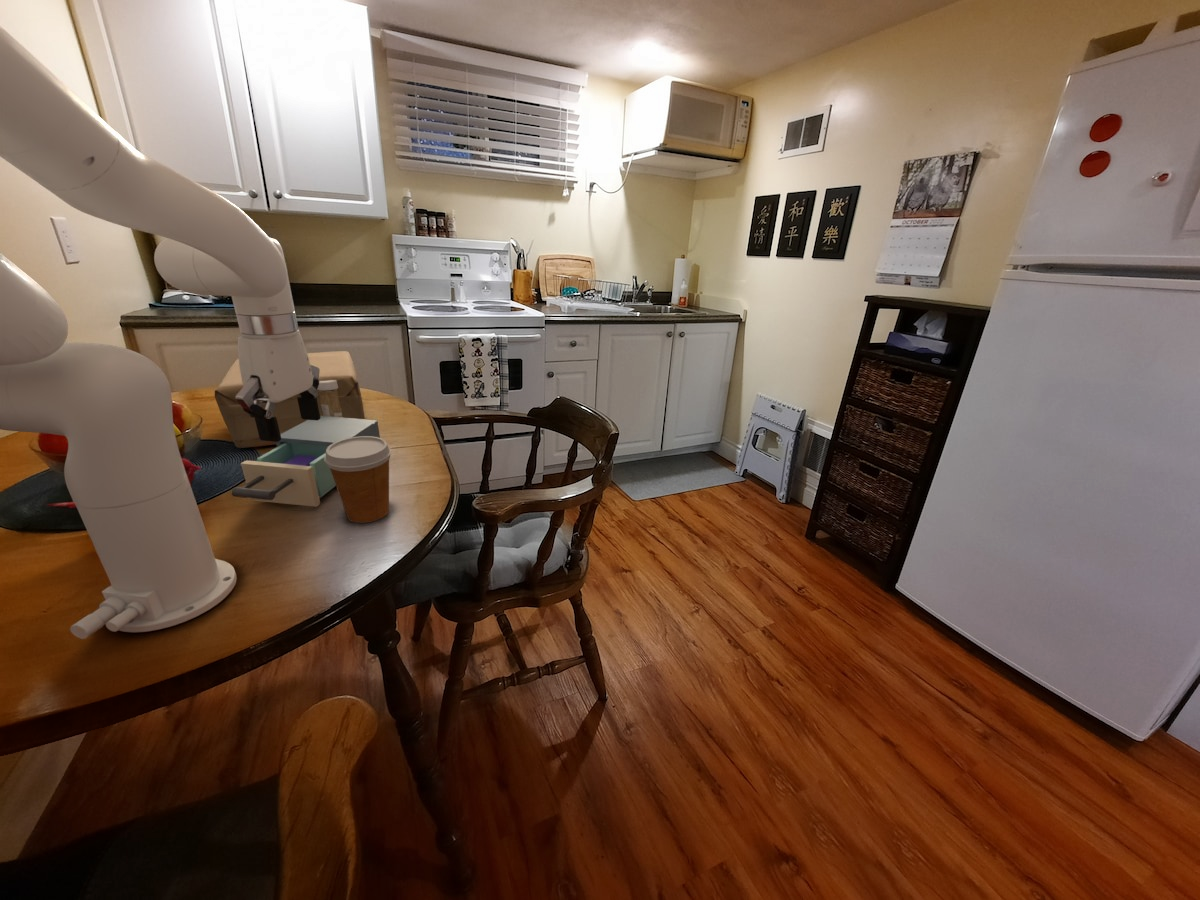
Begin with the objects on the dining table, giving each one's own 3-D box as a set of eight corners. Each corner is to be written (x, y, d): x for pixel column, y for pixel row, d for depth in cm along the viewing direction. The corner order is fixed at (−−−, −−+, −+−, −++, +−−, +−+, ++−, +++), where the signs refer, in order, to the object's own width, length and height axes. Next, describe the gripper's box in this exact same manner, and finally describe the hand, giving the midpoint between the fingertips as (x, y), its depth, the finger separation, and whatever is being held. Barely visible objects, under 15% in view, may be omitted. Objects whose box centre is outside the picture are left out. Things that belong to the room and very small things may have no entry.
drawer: (292, 525, 75) (282, 486, 72) (223, 518, 76) (210, 479, 73) (352, 477, 90) (346, 443, 87) (293, 472, 91) (285, 438, 88)
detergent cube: (308, 487, 83) (303, 466, 82) (286, 485, 84) (281, 464, 82) (322, 477, 87) (318, 456, 85) (301, 475, 87) (297, 454, 86)
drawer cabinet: (350, 487, 88) (342, 443, 85) (285, 480, 89) (274, 437, 86) (383, 460, 99) (377, 420, 95) (324, 454, 100) (316, 415, 96)
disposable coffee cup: (337, 503, 83) (324, 438, 78) (398, 495, 87) (389, 432, 82) (334, 533, 75) (319, 463, 70) (400, 522, 79) (391, 455, 74)
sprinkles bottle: (350, 440, 107) (340, 380, 102) (327, 443, 105) (315, 382, 99) (347, 433, 110) (336, 375, 105) (324, 436, 108) (312, 377, 103)
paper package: (245, 412, 119) (230, 355, 114) (361, 400, 130) (353, 348, 125) (227, 454, 98) (207, 386, 92) (368, 436, 109) (358, 375, 103)
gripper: (285, 314, 82) (305, 410, 89) (197, 333, 67) (229, 447, 74) (327, 317, 82) (344, 414, 89) (248, 336, 66) (276, 452, 73)
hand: (292, 429), depth 81 cm, fingers open, 9 cm apart
